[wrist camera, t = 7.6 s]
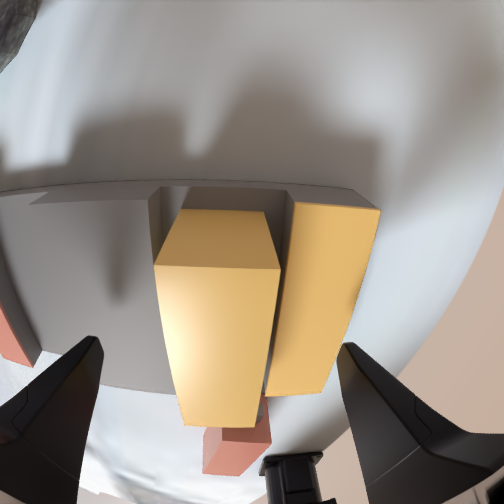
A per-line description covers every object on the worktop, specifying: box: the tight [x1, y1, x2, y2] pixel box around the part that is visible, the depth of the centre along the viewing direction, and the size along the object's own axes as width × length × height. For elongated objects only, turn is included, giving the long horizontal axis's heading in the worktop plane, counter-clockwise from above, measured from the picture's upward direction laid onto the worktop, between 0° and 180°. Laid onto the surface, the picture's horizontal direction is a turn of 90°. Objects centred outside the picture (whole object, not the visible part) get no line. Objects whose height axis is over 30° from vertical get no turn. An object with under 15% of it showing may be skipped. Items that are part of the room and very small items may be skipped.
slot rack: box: [0, 180, 381, 397], centre depth 11 cm, size 10×20×3 cm, turn 86°
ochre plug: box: [154, 209, 281, 428], centre depth 10 cm, size 9×3×4 cm, turn 176°
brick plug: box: [203, 394, 272, 476], centre depth 17 cm, size 9×3×4 cm, turn 164°
